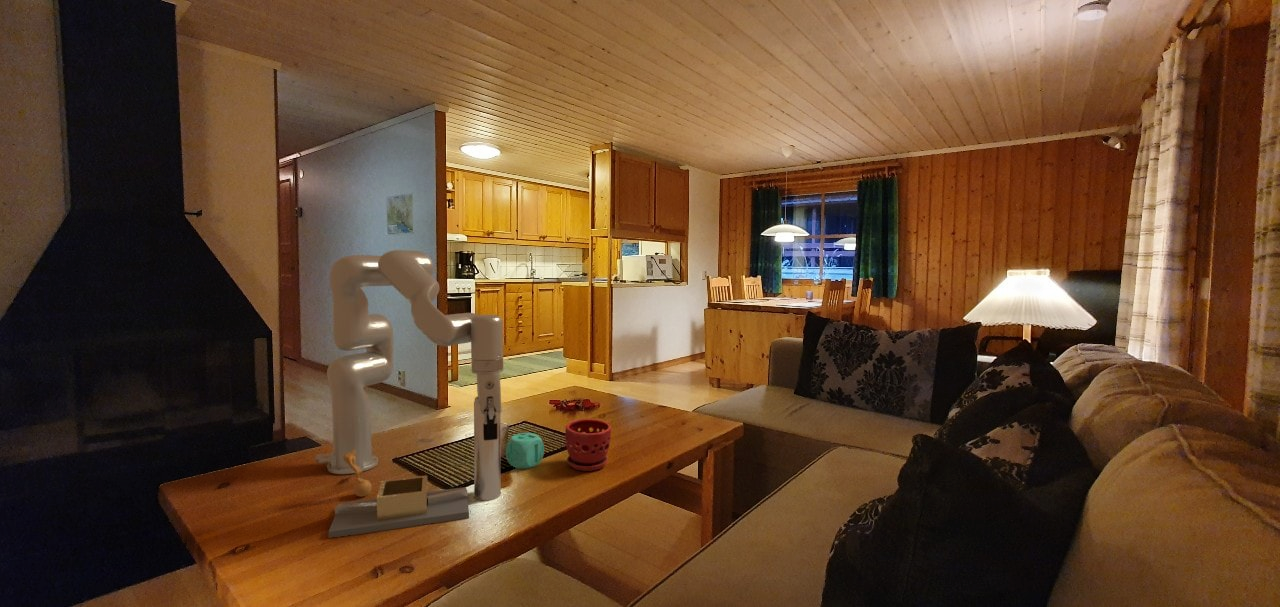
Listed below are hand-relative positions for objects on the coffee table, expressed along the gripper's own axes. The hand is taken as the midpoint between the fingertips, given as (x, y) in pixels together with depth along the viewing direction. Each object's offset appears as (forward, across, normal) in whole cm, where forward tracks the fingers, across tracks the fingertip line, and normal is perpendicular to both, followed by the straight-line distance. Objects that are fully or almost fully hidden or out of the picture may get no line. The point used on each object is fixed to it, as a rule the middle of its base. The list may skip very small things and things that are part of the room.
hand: (488, 433), depth 131 cm
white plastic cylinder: (+16, 0, +1) cm, 16 cm away
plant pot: (+16, +12, -28) cm, 35 cm away
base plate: (+16, -4, +20) cm, 25 cm away
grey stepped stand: (+14, -4, +20) cm, 24 cm away
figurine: (+16, +10, +31) cm, 36 cm away
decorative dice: (+16, +18, -11) cm, 27 cm away
